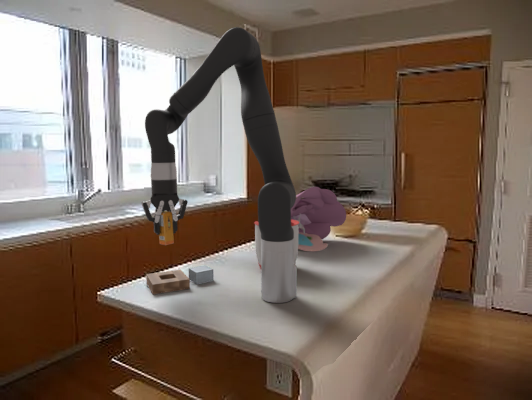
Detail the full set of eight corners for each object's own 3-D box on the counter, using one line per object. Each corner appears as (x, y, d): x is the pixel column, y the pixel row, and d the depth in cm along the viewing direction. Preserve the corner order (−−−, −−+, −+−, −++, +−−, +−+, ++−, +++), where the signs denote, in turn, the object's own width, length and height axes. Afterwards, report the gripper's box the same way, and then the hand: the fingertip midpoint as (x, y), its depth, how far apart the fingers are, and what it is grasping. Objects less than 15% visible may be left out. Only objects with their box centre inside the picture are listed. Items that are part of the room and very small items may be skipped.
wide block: (205, 276, 136) (205, 264, 135) (213, 281, 131) (213, 269, 130) (188, 279, 132) (188, 268, 132) (196, 284, 127) (196, 272, 127)
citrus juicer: (273, 259, 155) (272, 208, 152) (308, 269, 142) (308, 213, 140) (242, 268, 144) (241, 212, 141) (277, 279, 131) (277, 218, 129)
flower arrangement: (304, 269, 159) (313, 201, 150) (256, 249, 172) (262, 186, 163) (342, 243, 187) (352, 185, 178) (299, 228, 199) (306, 172, 190)
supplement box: (167, 242, 126) (166, 210, 125) (174, 243, 124) (173, 211, 123) (158, 244, 124) (157, 211, 123) (165, 245, 122) (164, 212, 120)
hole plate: (181, 278, 133) (180, 269, 133) (189, 288, 123) (189, 279, 123) (146, 283, 128) (146, 274, 128) (153, 294, 119) (152, 284, 118)
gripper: (141, 179, 115) (144, 238, 117) (190, 177, 121) (192, 233, 123) (137, 177, 122) (140, 233, 124) (184, 176, 128) (185, 229, 130)
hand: (166, 233), depth 124 cm, fingers closed on supplement box, 4 cm apart
